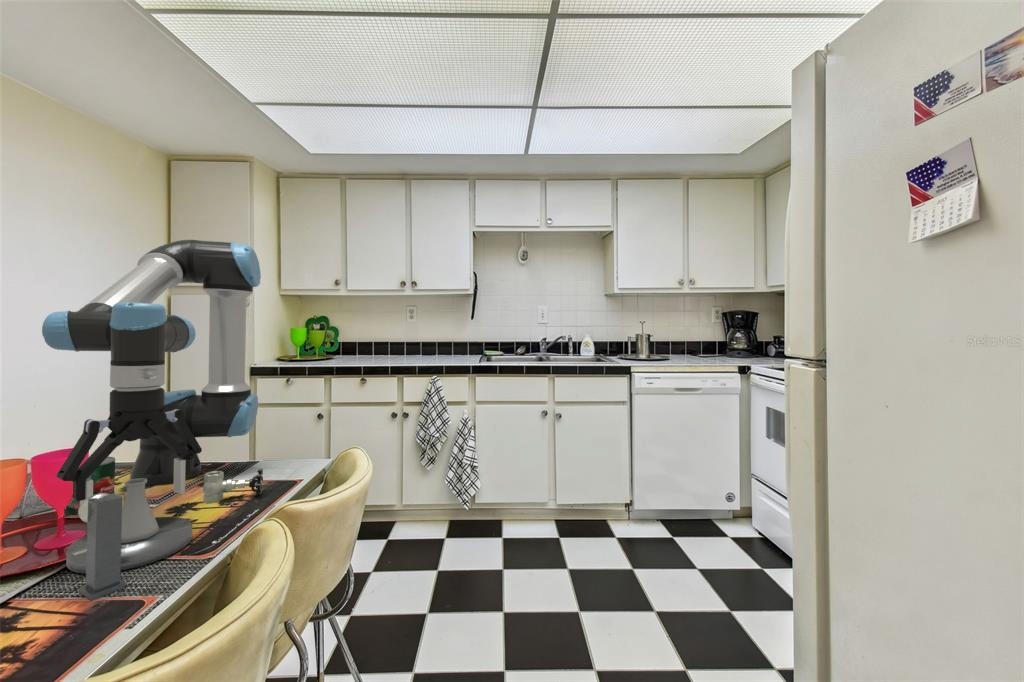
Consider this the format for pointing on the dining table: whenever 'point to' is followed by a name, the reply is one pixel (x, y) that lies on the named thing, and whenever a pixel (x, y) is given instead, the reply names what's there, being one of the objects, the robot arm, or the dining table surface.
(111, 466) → the canned tomato
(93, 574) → the post
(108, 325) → the robot arm
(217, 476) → the valve
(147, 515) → the flask
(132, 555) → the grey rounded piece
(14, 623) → the dining table surface
